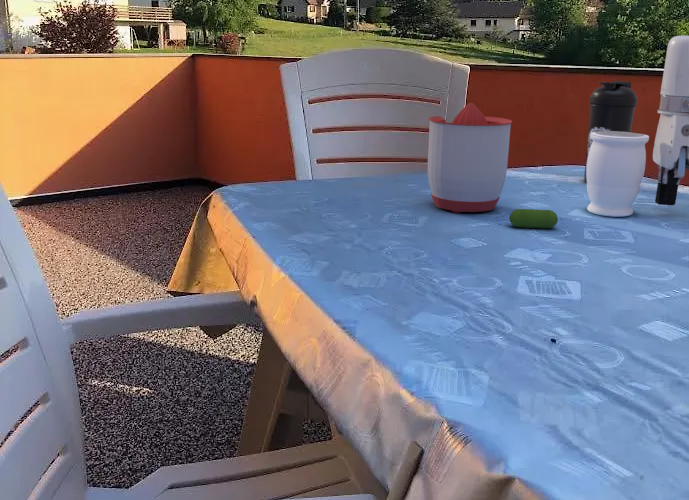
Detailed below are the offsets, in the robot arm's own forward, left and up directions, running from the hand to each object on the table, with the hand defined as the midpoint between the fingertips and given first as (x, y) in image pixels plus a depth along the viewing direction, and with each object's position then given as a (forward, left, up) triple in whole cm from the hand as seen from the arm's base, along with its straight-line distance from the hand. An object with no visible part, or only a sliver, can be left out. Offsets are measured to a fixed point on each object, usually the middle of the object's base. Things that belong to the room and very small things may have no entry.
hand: (664, 203), depth 135 cm
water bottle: (+3, -31, -2) cm, 31 cm away
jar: (+10, 0, -2) cm, 10 cm away
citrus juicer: (+38, -1, -2) cm, 38 cm away
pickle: (+27, +14, -2) cm, 30 cm away
